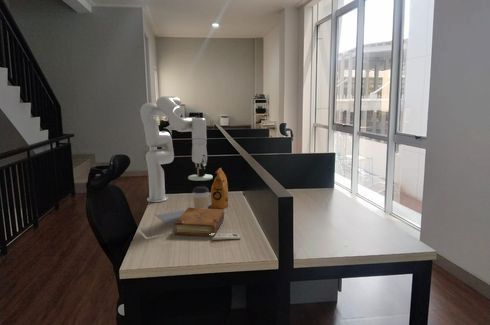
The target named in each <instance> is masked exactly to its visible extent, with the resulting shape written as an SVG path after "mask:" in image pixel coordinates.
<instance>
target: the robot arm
mask: <svg viewBox="0 0 490 325" xmlns="http://www.w3.org/2000/svg"><path fill="white" fill-rule="evenodd" d="M182 112H183V111H182V102H181V100H180V98H178V97H177V96H172V95H171V96H170V95H169V96H167V95H166V96H160V97H158V98H157V99H156V101H155V102H145V103H144V104H142V105H141V107H140V112H139V113H140V118H141V122H142V124H143V127H144V137H145V142H146V145H147V147H149V148H156V149H152V150H149V151H147V152H146V154H145V160H146V165H147V172H148V173H147V174H148V189H149V191H148V193H149V197H147V198H146V201H147V202H149V203H162V202H166V201H168V198H169V197H168V196H166V189H165V188H166V187H165V186H166V185H165V171H164V168H163V167H162V166H161V165H166V164H167V165H168V164H171V163H172V162H173V161H174V159H175V153H174V147H173V146H174V145H173V139H172V136H171V134H170V132H168V131H167V130H161V131H160V129H159V123H158V122H157V120H156V119H155V118H157V117H158V118H160V117H168V118H167V120H168V123H169V125H170V127H171V128H173V129H174V130H175V131H177V132H180V133H184V132H185V133H186V132H191V140H192V141H191V143H192V147H191V160H192V161H191V162H193V163H194V165H195V167H194V168H195V175H197V167H199V168H200V169H199V176H205V174H206V171H205V170H206V166H207V163H208V151H207V140H208V139H207V120H206V118H204V117H196V116H190V117H181V115H182Z"/></svg>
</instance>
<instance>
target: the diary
mask: <svg viewBox="0 0 490 325" xmlns="http://www.w3.org/2000/svg"><path fill="white" fill-rule="evenodd" d="M184 211H185V212H184V213H183V214H182V215H181V216H180V217H179V219H178V220H177V221H176V222H174V225H175V226H176V227H175V228H176V230H175V231H174V235H178V236H179V235H181V236H197V237H198V236H200V237H209V236H208V235H209V234H211V233H217V232H218V230H219V228H220V226H221V225H222V222H223V221H224V219H225V209H216V208H214V209H213V208H208V209H206V208H194V207H188V208H187V209H186V210H184Z"/></svg>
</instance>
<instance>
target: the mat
mask: <svg viewBox="0 0 490 325" xmlns="http://www.w3.org/2000/svg"><path fill="white" fill-rule="evenodd" d="M185 211H186V210H179V211H173V212H166V213H159V214H155V216H156V217H157V218H159V220H161V221H162V222H163V223H165V224H169V223H175V222H176V221H177V220H178V219H179V217H180V216H181V215H182V214H183V213H184V212H185Z"/></svg>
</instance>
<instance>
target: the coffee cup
mask: <svg viewBox="0 0 490 325" xmlns="http://www.w3.org/2000/svg"><path fill="white" fill-rule="evenodd" d="M191 192H192V200H193V208H206V209H209V197H210V196H209V195H210V194H209V192H210V190H209V188H208V187H207V186H206V185H200V186H199V185H198V186H194V187H193V189H192V191H191Z"/></svg>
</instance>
